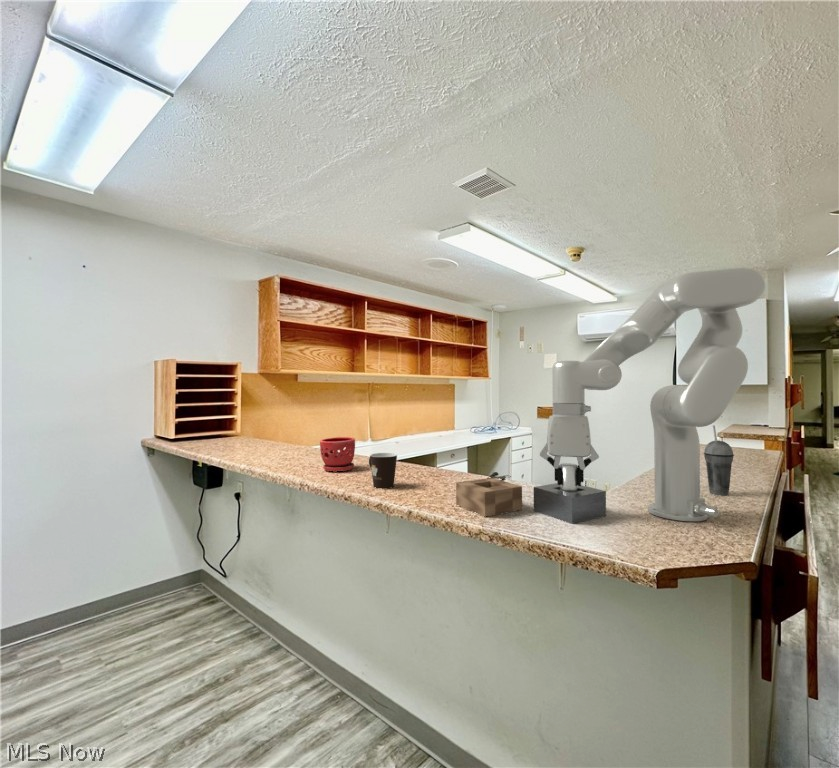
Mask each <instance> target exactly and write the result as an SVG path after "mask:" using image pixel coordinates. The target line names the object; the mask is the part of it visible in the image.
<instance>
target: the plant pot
mask: <svg viewBox="0 0 839 768" xmlns="http://www.w3.org/2000/svg"><path fill="white" fill-rule="evenodd" d="M319 450H320V456H321V459H322V462H323V463H324V465H323V467H322V468H323V469H324V471H326V472H329V471H333V472H332V473H338V472H337V471H343V472H347V470H348V471H350V470H352V469H353V468H354V466H355V464H354V463H353V460H354V457H355V450H356V439H355V437H350V436H343V437H342V436H339V437H338V436H337V437H330V438H329V437H327V438H323V439H320V441H319ZM338 451H339V452H338Z"/></svg>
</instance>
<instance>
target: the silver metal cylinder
mask: <svg viewBox="0 0 839 768" xmlns="http://www.w3.org/2000/svg"><path fill="white" fill-rule="evenodd" d="M559 465H560V469H561V485H560V490H562V491H565V492H569V493H572V492H577V491H578V485H577V468H578V464H575V463H564V462H563V463H559Z"/></svg>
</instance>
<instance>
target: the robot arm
mask: <svg viewBox="0 0 839 768" xmlns="http://www.w3.org/2000/svg"><path fill="white" fill-rule="evenodd" d="M765 286H766V284H765V279H764V277H763V276H762V274H761V273H759V272H758V271H757V270H755V269H752V268H749V267H735V268H734V267H733V268H724V269H723V268H722V269H711V270H704V271H701V270H700V271H694V272H686V273H683V274H680V275H678V276H675V278H672V279H670V280H668V281H665V282H663V283H662V284H661V285H659V286H658V287H657V288H656V289H655V290H654V291H653V292H652V293H651V294H650V296H648V298H646V299H645V301H644V302H643V303H642V304H641V305H639V308H637V309H636V310H635V311H634V312H633V313H632V314H631V315H630V317H629V318H627V319H626V320H625V322H624V323H622V324H621V325H620V326H619V327H618V328H617V329H616V330H615V331H613V332H612V333H611V334H610V335H609V336H607V338H606V339H605V340H603V341H602V342H601V343H600V344H599V345H598V346H596V348H594V350H593V351H592V352H591V353H590V354H589V355H588V356H587V357H586V358H585V359H584V360H583V361H580V360H560V361H556V362H554V363H553V365H552V372H551V374H552V375H551V376H552V380H551V381H552V383H551V384H552V415H549V417H548V423H547V435H546V436H547V437H546V443H545V445H544V446H543V448H542V449H541V450H540V452H539V456H540V457H541V458H543V459H544V460H546V461H547V462H548V463H549V464H550V465H551V466H552V467H553V468H554V481H555V482H556V483H558V485H561V469H560V464H561V457H563V458H567V457H568V458H569V457H570V458H576V460H577V485H578V486H581V485H582V483H584V481H585V479H584V478H585V477H584V475H585V474H584V473H585V472H584V470H585V469H586V468H587V467H588V466H589V465H590V464H591V463H593V462H595V461H596V460H598V459H599V458H600V456H599V454H598V453H597V450H595V448H594V447H593V445H592V442H591V441H592V440H591V438H592V437H591V429H590V423H589V417H588V415H586V414H587V413H588V412H592V407H591V405H586V404H585V403H586V402H585V396H586V395H585V390H588V391H607V390H611V389H614V388H615V387H616V386H618V385H619V383H620V382H621V380H622V377H623V376H622V375H623V374H622V369H621V367H620V366H621V365H622V364H623V363H624V362H626V361H627V360H628V359H629V358H631V357H634V356H635V355H637V354H639V353H641V352H644V351H645V350H646V349H648V348H650V347H651V346H653V345H654V344H655V343H656V342H657V341H658V340H659V339H661V337H662V336H663V335H664V334H665V333H666V332H667V331H668V330H669V328H671V326H672V325H673V324H674V323H675V322H676V321H677V320H678V319H679V318H680V317H681V316H682V315H684V313H685V312H689V311H692V310H693V311H694V310H695V309H698V312H699V313H700V316H701V317H700V318H701V327H700V329H699V331H698V333H697V335H696V337H695V339H693V341H692V343H691V344H690V346H689V348H688V349H687V351H686V352H685V354H684V355H683V357H682V359H680V362H679V363H678V368H677V374H678V378H679V379H680V380H681V381H682V382H684V383H685V384H672V385H666V386H663V387H662V388H659V389H658V390H657V391H656V392H655V393H654V394H653V395H652V397H651V400H650V403H649V405H650V406H649V407H650V416H651V421H652V426H653V428H652V429H653V441H654V449H653V451H654V454H653V456H654V502H651V503H649V504H648V505H647V511H648V513H649V514H651V515H654V516H656V517H660V518H663V519H667V520H673V521H678V522H679V521H681V522H703V521H706V520H708V519H709V516H710V517H714V518H717V517H718V515H719V510H718V507H717V506H713V505H707V503H706V499H705V498H703V497H701V467H700V466H701V465H700V464H701V462H700V461H701V459H700V458H701V457H700V456H701V455H700V454H701V453H700V452H701V450H700V438H699V437H700V435H699V432H698V429H697V428H704V427H707V426H709V425H710V426H711V425H712V424H713V423H715V422H716V421H718V420H719V418H720V417H721V416H722V415H723V413H725V410H726V409H727V407H728V406H729V405H730V403H731V401H732V400H733V398H734V397H735V395H736V394H737V393H738V391H739V389H740V388H741V386H742V384H743V383H744V382H745V379H746V377H747V374H748V369H749V363H748V357H747V355H746V354H745V352H743V350H742V349H740V348H739V347H737V346H738V344H739V342H740V340H741V338H742V335H743V323H742V321H741V318H740V316H739V313H738V311H737V310H738V309H739V308H742V307H746V306H748V305H752V304H754V303H755V302H756V301H758V300H759V299H760V298H761V296H763V294H764V292H765ZM550 455H551V456H550ZM553 457H554V458H553Z"/></svg>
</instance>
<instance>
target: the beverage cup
mask: <svg viewBox="0 0 839 768" xmlns="http://www.w3.org/2000/svg"><path fill="white" fill-rule="evenodd" d="M712 428H713V435H714V436H713V437H714V440H712V441H710V442H708V443H707V445H706V446H705V448H704V451H703V454H704V460H705V465H706V474H707V482H708V488H709V489H708V490H709V494H711V495H713V494H714V496H719V495H721V497H727V495H728V496H729V492H730V487H731V486H730V485H731V475H732V465H733V464H732V463H733V461H734V456H735V455H734V451H733V448H732V447H731V446H730V444H729V443H728V442H725V441H723V440H718V437H717V431H716V425H714V424H713V425H712Z"/></svg>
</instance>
